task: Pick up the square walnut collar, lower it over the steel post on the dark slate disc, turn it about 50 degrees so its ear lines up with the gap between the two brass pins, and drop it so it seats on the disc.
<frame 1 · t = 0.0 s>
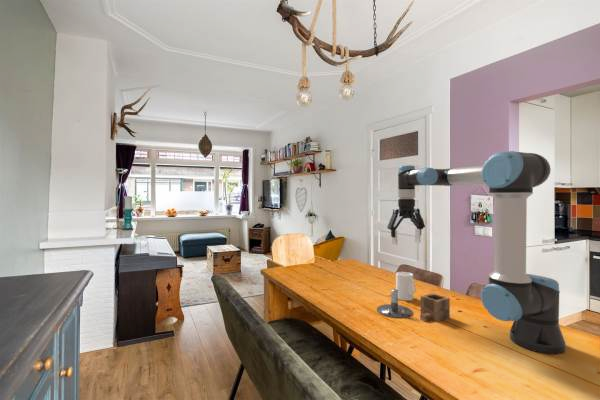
hand: (406, 243, 146), 28 cm above the table, fingers open, 13 cm apart
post: (394, 311, 135), on the table
mug: (406, 299, 151), on the table
collar: (434, 316, 129), on the table
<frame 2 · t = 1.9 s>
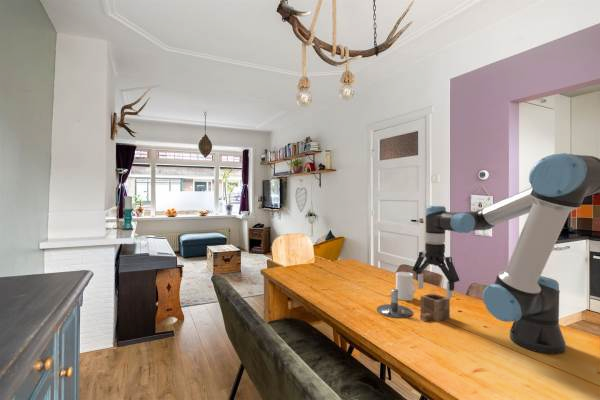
hand: (434, 293, 129), 10 cm above the table, fingers open, 13 cm apart
nothing on the table moved.
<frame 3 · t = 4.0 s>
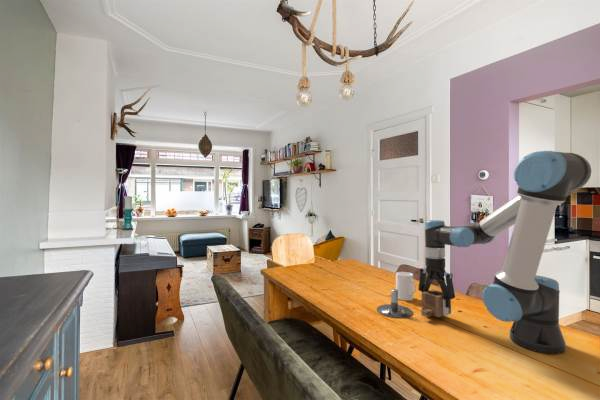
hand: (436, 311, 129), 2 cm above the table, fingers closed on collar, 8 cm apart
collar: (436, 312, 129), point 2 cm above the table, touching gripper
everything else where it was.
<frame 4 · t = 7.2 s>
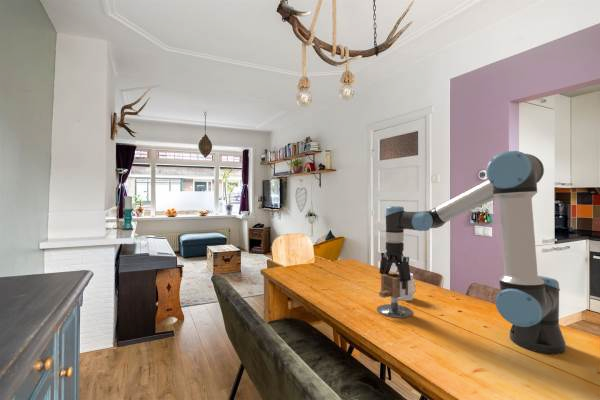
hand: (394, 293, 135), 8 cm above the table, fingers closed on collar, 8 cm apart
collar: (394, 293, 135), point 8 cm above the table, touching gripper
everything else where it was.
when the fingers open (2 cm above the table, at t = 10.1 s): collar drops 2 cm, resting on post.
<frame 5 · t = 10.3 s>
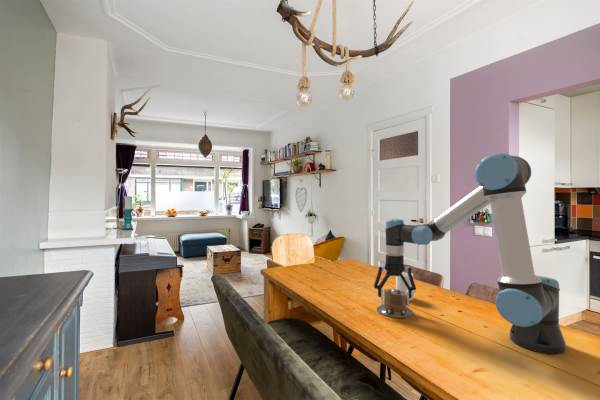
hand: (394, 304, 135), 3 cm above the table, fingers open, 10 cm apart
collar: (394, 310, 135), resting on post
everything else where it was.
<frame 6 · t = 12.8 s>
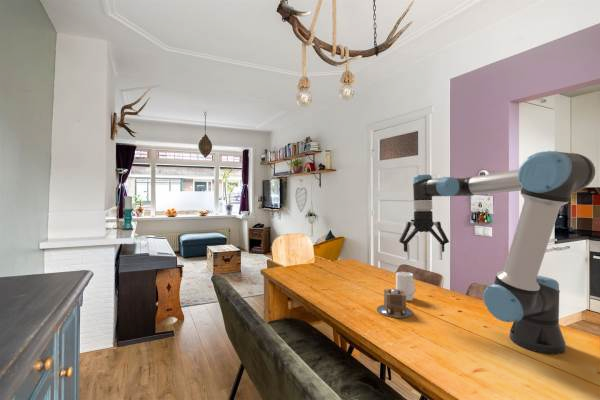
hand: (423, 259, 134), 23 cm above the table, fingers open, 13 cm apart
nothing on the table moved.
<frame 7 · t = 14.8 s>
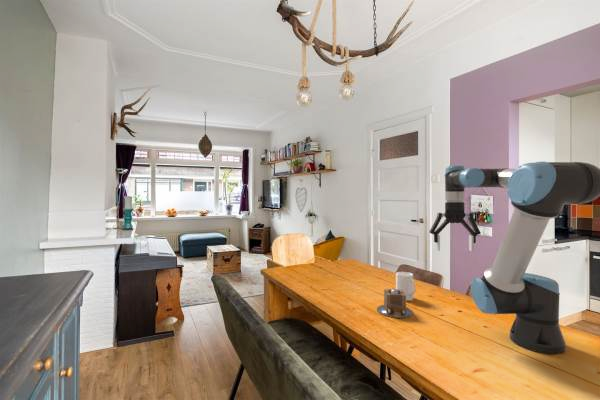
hand: (454, 250, 134), 27 cm above the table, fingers open, 13 cm apart
nothing on the table moved.
at the end: collar 0.1 cm from the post (horizontally); collar resting on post; collar tilted 0° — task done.
